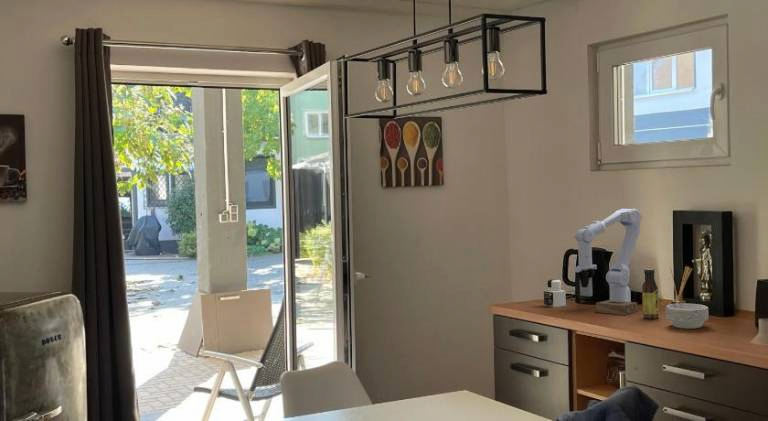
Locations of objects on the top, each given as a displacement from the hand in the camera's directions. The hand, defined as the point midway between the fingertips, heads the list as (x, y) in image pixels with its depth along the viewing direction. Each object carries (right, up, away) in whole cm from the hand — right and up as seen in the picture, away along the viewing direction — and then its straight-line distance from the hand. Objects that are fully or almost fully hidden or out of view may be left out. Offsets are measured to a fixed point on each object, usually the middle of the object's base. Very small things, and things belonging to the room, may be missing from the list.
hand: (586, 286), depth 368 cm
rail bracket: (0, -4, 0) cm, 4 cm away
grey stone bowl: (+27, -11, -50) cm, 58 cm away
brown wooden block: (+11, -10, -11) cm, 18 cm away
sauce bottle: (+20, -10, -28) cm, 36 cm away
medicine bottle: (-11, -10, +13) cm, 20 cm away
